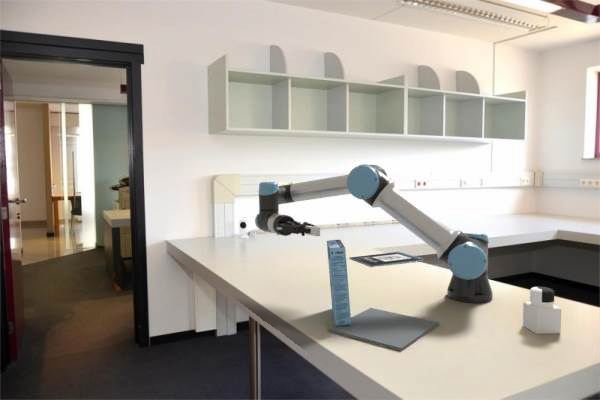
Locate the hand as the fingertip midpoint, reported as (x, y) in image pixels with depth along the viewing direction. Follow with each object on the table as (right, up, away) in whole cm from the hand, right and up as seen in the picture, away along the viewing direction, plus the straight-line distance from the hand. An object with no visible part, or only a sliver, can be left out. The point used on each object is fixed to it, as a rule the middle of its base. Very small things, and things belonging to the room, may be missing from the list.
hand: (318, 232), depth 148 cm
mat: (+19, -27, -16) cm, 37 cm away
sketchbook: (+37, -20, +79) cm, 90 cm away
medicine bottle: (+63, -27, -19) cm, 71 cm away
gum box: (+7, -26, -7) cm, 28 cm away
